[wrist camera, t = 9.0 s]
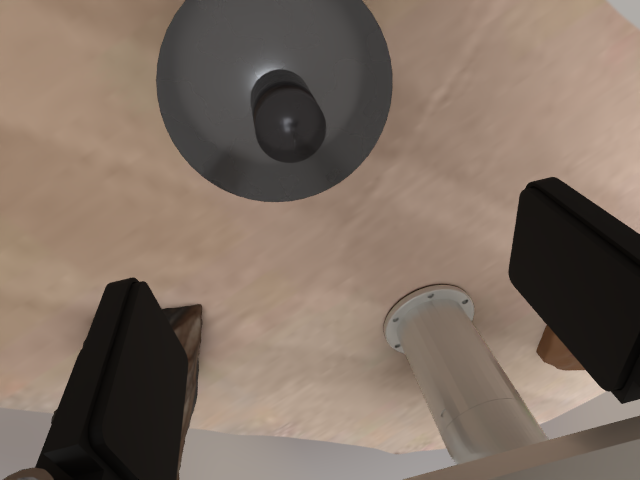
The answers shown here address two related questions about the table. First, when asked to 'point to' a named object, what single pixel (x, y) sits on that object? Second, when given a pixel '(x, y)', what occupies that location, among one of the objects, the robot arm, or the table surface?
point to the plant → (556, 352)
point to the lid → (274, 92)
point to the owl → (189, 335)
